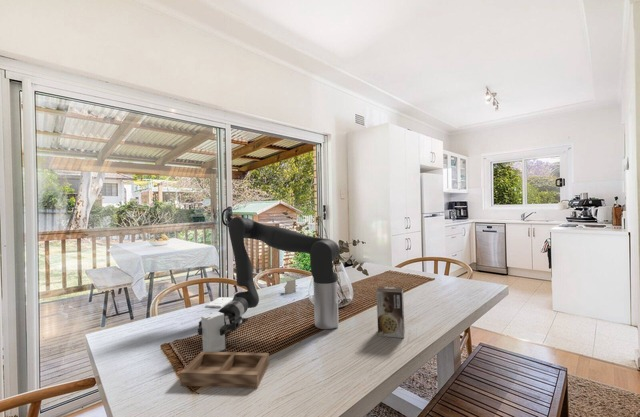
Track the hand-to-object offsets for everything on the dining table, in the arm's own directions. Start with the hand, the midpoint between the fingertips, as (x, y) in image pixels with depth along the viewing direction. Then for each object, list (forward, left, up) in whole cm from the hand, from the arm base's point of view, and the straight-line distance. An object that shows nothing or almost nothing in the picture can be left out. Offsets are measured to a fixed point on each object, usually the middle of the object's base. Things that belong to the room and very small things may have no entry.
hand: (210, 332), depth 96 cm
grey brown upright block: (-59, -18, -7) cm, 62 cm away
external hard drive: (+20, -50, -8) cm, 55 cm away
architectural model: (-12, -69, -8) cm, 70 cm away
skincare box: (0, -2, -7) cm, 8 cm away
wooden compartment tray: (-10, +11, -7) cm, 16 cm away
